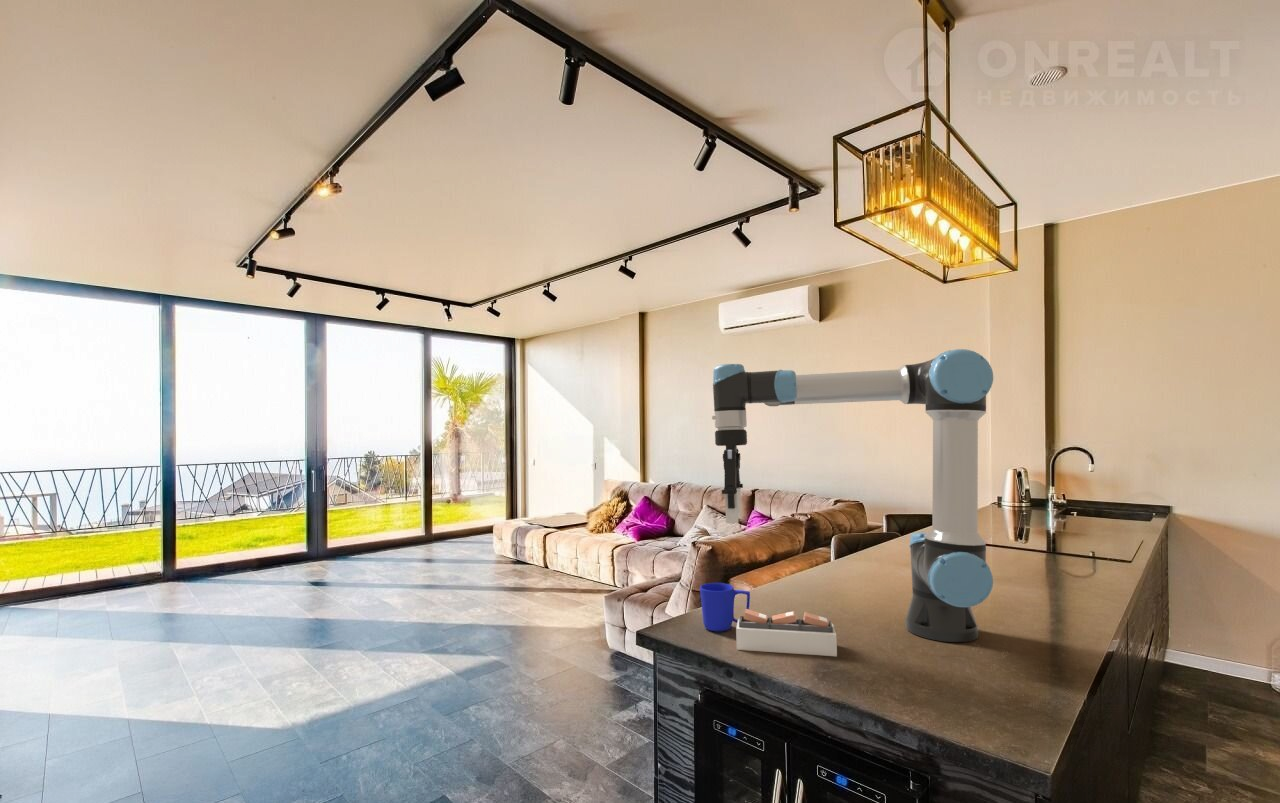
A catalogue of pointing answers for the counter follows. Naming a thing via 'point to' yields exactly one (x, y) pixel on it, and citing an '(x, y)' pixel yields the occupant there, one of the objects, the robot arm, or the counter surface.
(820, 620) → the orange rectangular block
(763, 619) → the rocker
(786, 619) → the block
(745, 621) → the white rack
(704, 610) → the mug
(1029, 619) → the counter surface
